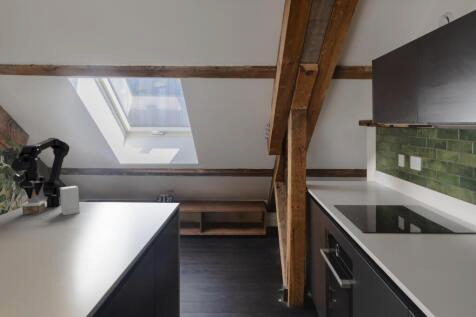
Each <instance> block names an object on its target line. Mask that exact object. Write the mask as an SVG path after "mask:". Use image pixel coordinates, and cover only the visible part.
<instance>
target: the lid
mask: <svg viewBox="0 0 476 317" xmlns="http://www.w3.org/2000/svg"><path fill="white" fill-rule="evenodd" d="M43 203H45V204H46V203H47V200H45V199H43V200H40V196H39V197H38V196H36V197H33V196H32V198H31V199H29V198H28V197H27V201H26V202H23V203H21V206H20V207H22V206H40V205H41V204H43Z"/></svg>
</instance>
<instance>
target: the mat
mask: <svg viewBox="0 0 476 317" xmlns="http://www.w3.org/2000/svg"><path fill="white" fill-rule="evenodd" d="M53 212H54V211H53V210H51V211H47V210H45V211H44V212H43V213H41V214H40V215H23V216H22V217H21V218H19V219H18V221H34V220H36V221H37V220H38V221H39V220H43V219H44V218H45V217H47V216H48V215H50V214H51V213H53Z"/></svg>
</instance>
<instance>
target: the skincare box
mask: <svg viewBox="0 0 476 317" xmlns="http://www.w3.org/2000/svg"><path fill="white" fill-rule="evenodd" d="M79 194H80V193H79V187H78V186H77V185H70V186H64V187H63V186H62V187H60V196H61V206H60V207H61V213H62V214H63V215H64V216H65V215H67V216H68V215H74V214H80V213H81V210H80V197H79V196H80V195H79Z"/></svg>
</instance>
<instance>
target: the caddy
mask: <svg viewBox="0 0 476 317" xmlns="http://www.w3.org/2000/svg"><path fill="white" fill-rule="evenodd" d="M21 207H22V216H26V215H40V214H41V213H43V212H46V202H45V203H43V204H41V205H40V206H21Z"/></svg>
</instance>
